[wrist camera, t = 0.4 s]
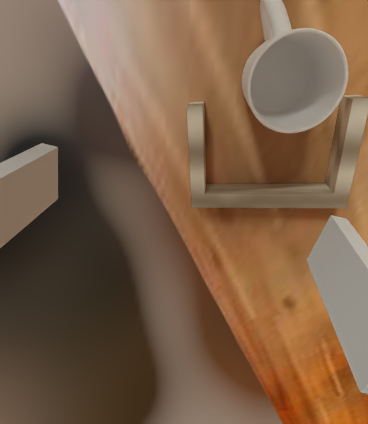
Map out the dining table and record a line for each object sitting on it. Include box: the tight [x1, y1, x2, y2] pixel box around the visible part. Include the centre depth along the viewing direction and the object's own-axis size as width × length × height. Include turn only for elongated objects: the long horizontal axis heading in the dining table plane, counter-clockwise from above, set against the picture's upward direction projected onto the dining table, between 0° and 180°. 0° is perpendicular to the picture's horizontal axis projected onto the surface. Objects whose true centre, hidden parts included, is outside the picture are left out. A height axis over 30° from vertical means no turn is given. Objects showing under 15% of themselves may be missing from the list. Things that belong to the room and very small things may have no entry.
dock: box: [187, 95, 368, 208], centre depth 36 cm, size 13×20×4 cm, turn 93°
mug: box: [242, 0, 348, 133], centre depth 28 cm, size 12×8×10 cm
